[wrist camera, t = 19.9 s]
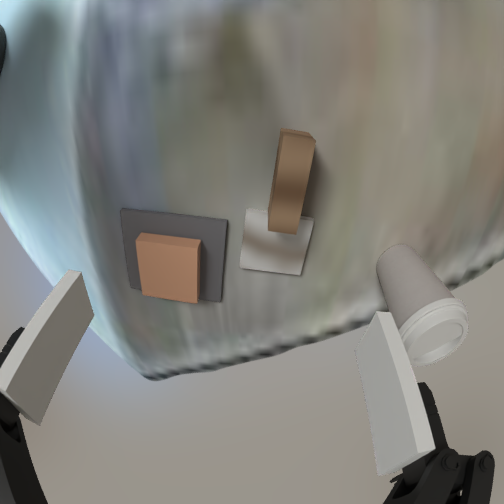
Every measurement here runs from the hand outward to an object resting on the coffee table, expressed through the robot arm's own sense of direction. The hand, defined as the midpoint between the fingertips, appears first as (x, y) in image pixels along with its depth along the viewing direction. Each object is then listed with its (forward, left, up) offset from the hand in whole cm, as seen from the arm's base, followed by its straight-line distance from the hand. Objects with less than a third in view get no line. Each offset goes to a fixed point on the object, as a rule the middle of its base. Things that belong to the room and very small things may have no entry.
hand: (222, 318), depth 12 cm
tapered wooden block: (+5, +4, -23) cm, 24 cm away
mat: (+14, -9, -23) cm, 28 cm away
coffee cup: (+10, +22, -23) cm, 33 cm away
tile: (+10, -9, -21) cm, 25 cm away
